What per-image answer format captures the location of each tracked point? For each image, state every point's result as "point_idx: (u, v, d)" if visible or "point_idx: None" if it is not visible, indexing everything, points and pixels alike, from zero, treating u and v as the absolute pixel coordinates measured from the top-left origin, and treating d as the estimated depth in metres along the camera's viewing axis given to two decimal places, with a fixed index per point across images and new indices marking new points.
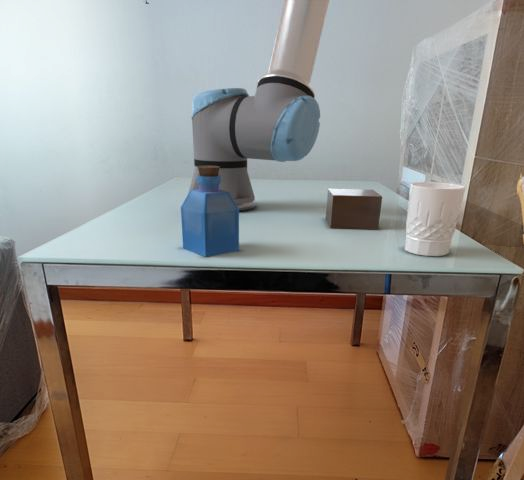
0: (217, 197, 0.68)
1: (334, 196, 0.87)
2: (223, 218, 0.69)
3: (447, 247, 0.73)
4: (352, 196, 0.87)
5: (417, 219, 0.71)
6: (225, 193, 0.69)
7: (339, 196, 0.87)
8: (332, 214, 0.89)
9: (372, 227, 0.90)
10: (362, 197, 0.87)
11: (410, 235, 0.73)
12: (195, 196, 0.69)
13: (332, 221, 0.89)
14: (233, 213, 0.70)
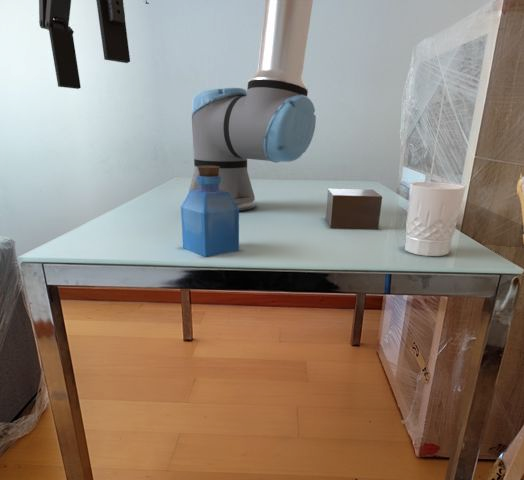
0: (217, 197, 0.68)
1: (334, 196, 0.87)
2: (223, 218, 0.69)
3: (447, 247, 0.73)
4: (352, 196, 0.87)
5: (417, 219, 0.71)
6: (225, 193, 0.69)
7: (339, 196, 0.87)
8: (332, 214, 0.89)
9: (372, 227, 0.90)
10: (362, 197, 0.87)
11: (410, 235, 0.73)
12: (195, 196, 0.69)
13: (332, 221, 0.89)
14: (233, 213, 0.70)
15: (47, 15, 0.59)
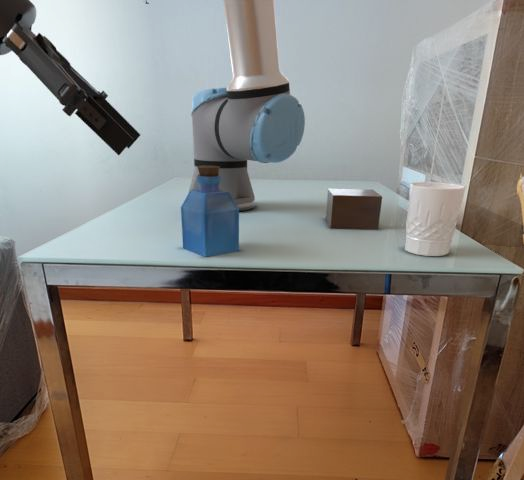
0: (217, 197, 0.68)
1: (334, 196, 0.87)
2: (223, 218, 0.69)
3: (447, 247, 0.73)
4: (352, 196, 0.87)
5: (417, 219, 0.71)
6: (225, 193, 0.69)
7: (339, 196, 0.87)
8: (332, 214, 0.89)
9: (372, 227, 0.90)
10: (362, 197, 0.87)
11: (410, 235, 0.73)
12: (195, 196, 0.69)
13: (332, 221, 0.89)
14: (233, 213, 0.70)
15: None
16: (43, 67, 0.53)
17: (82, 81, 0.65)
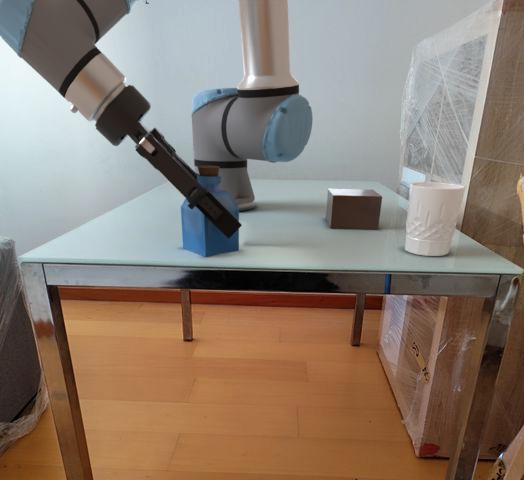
0: (217, 197, 0.68)
1: (334, 196, 0.87)
2: None
3: (447, 247, 0.73)
4: (352, 196, 0.87)
5: (417, 219, 0.71)
6: (225, 193, 0.69)
7: (339, 196, 0.87)
8: (332, 214, 0.89)
9: (372, 227, 0.90)
10: (362, 197, 0.87)
11: (410, 235, 0.73)
12: None
13: (332, 221, 0.89)
14: (233, 213, 0.70)
15: None
16: (173, 171, 0.61)
17: (185, 166, 0.71)
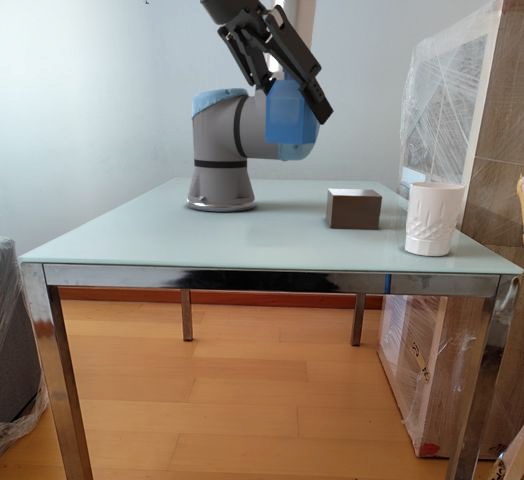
0: None
1: (334, 196, 0.87)
2: None
3: (447, 247, 0.73)
4: (352, 196, 0.87)
5: (417, 219, 0.71)
6: None
7: (339, 196, 0.87)
8: (332, 214, 0.89)
9: (372, 227, 0.90)
10: (362, 197, 0.87)
11: (410, 235, 0.73)
12: (286, 84, 0.71)
13: (332, 221, 0.89)
14: None
15: (256, 81, 0.75)
16: (298, 48, 0.63)
17: (263, 57, 0.72)
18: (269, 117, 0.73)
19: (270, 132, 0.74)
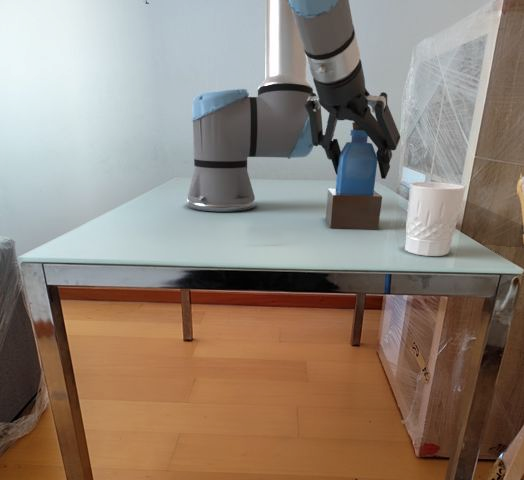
0: None
1: (334, 196, 0.87)
2: None
3: (447, 247, 0.73)
4: (352, 196, 0.87)
5: (417, 219, 0.71)
6: None
7: (339, 196, 0.87)
8: (332, 214, 0.89)
9: (372, 227, 0.90)
10: (362, 197, 0.87)
11: (410, 235, 0.73)
12: (359, 147, 0.85)
13: (332, 221, 0.89)
14: None
15: (325, 143, 0.87)
16: (391, 124, 0.79)
17: None
18: (345, 173, 0.87)
19: (345, 186, 0.88)
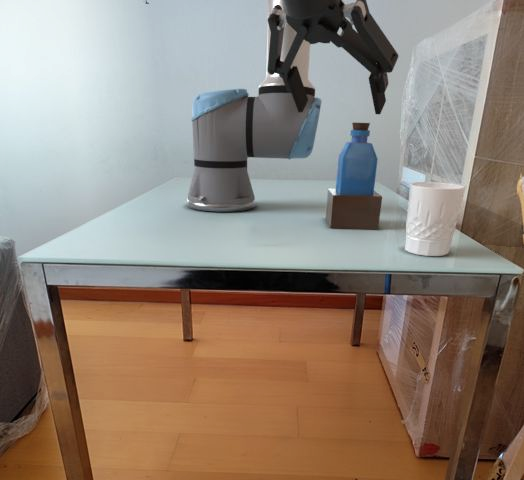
0: None
1: (334, 196, 0.87)
2: None
3: (447, 247, 0.73)
4: (352, 196, 0.87)
5: (417, 219, 0.71)
6: None
7: (339, 196, 0.87)
8: (332, 214, 0.89)
9: (372, 227, 0.90)
10: (362, 197, 0.87)
11: (410, 235, 0.73)
12: (359, 147, 0.85)
13: (332, 221, 0.89)
14: None
15: (283, 70, 0.74)
16: (379, 38, 0.64)
17: (299, 48, 0.72)
18: (345, 173, 0.87)
19: (345, 186, 0.88)
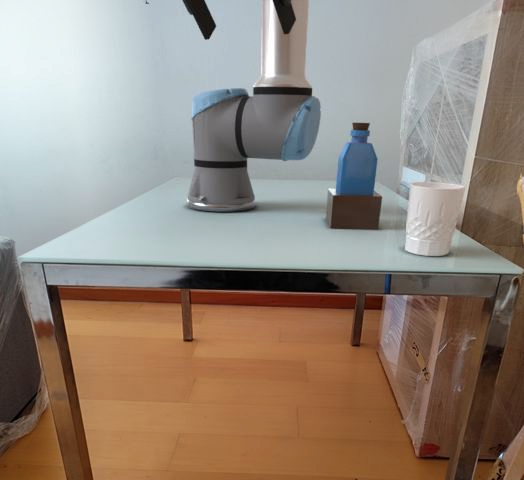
0: None
1: (334, 196, 0.87)
2: None
3: (447, 247, 0.73)
4: (352, 196, 0.87)
5: (417, 219, 0.71)
6: None
7: (339, 196, 0.87)
8: (332, 214, 0.89)
9: (372, 227, 0.90)
10: (362, 197, 0.87)
11: (410, 235, 0.73)
12: (359, 147, 0.85)
13: (332, 221, 0.89)
14: None
15: None
16: None
17: None
18: (345, 173, 0.87)
19: (345, 186, 0.88)
